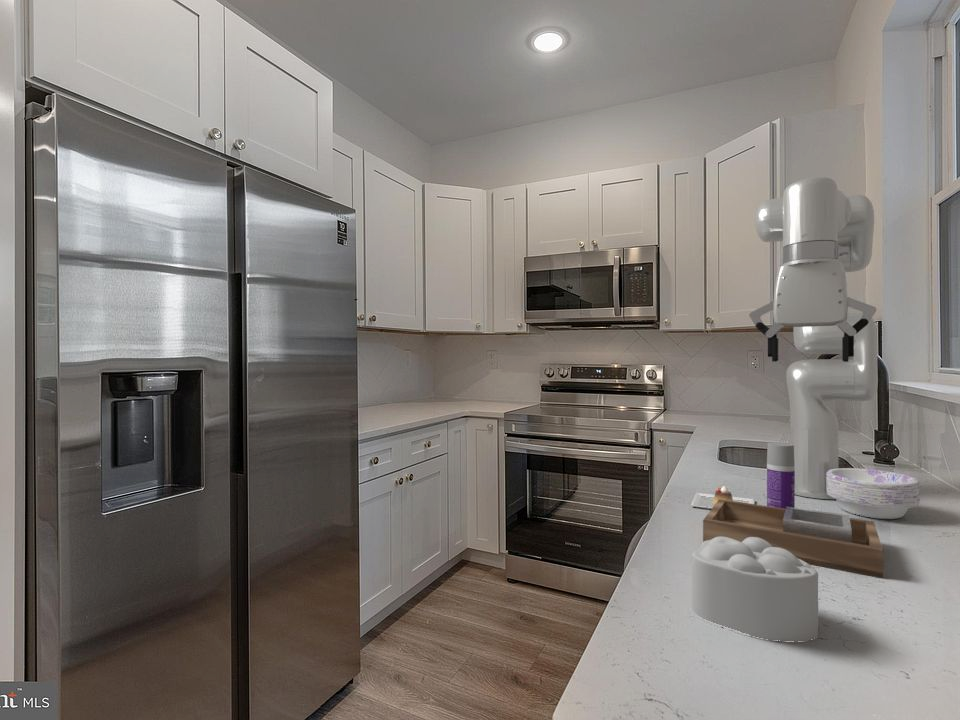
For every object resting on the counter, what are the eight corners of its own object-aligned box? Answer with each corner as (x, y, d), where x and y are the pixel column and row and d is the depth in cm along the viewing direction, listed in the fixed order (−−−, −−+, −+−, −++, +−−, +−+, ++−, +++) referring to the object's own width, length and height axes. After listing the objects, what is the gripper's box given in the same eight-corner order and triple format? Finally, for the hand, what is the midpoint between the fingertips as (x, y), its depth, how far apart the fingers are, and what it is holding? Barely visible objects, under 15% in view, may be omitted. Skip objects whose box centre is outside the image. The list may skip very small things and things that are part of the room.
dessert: (695, 497, 117) (695, 476, 118) (754, 503, 112) (754, 482, 112) (690, 510, 107) (690, 488, 107) (755, 518, 101) (755, 495, 101)
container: (798, 525, 95) (798, 446, 95) (771, 523, 96) (771, 445, 96) (788, 518, 100) (789, 442, 100) (763, 516, 101) (763, 441, 101)
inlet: (786, 531, 90) (786, 506, 90) (849, 542, 84) (849, 515, 84) (783, 547, 82) (783, 519, 82) (851, 559, 77) (851, 530, 77)
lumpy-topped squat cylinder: (707, 587, 69) (707, 524, 69) (821, 617, 61) (821, 546, 61) (685, 617, 61) (685, 546, 61) (813, 657, 53) (814, 574, 53)
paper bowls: (809, 507, 108) (809, 470, 108) (854, 499, 114) (854, 464, 114) (891, 529, 94) (891, 486, 94) (936, 519, 100) (936, 479, 100)
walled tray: (719, 519, 99) (719, 499, 99) (873, 545, 85) (873, 521, 85) (703, 543, 86) (703, 520, 86) (882, 578, 72) (882, 550, 72)
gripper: (874, 255, 81) (874, 361, 81) (752, 266, 90) (752, 361, 90) (878, 246, 74) (878, 361, 74) (747, 259, 84) (746, 361, 84)
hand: (809, 361), depth 82 cm, fingers open, 9 cm apart
